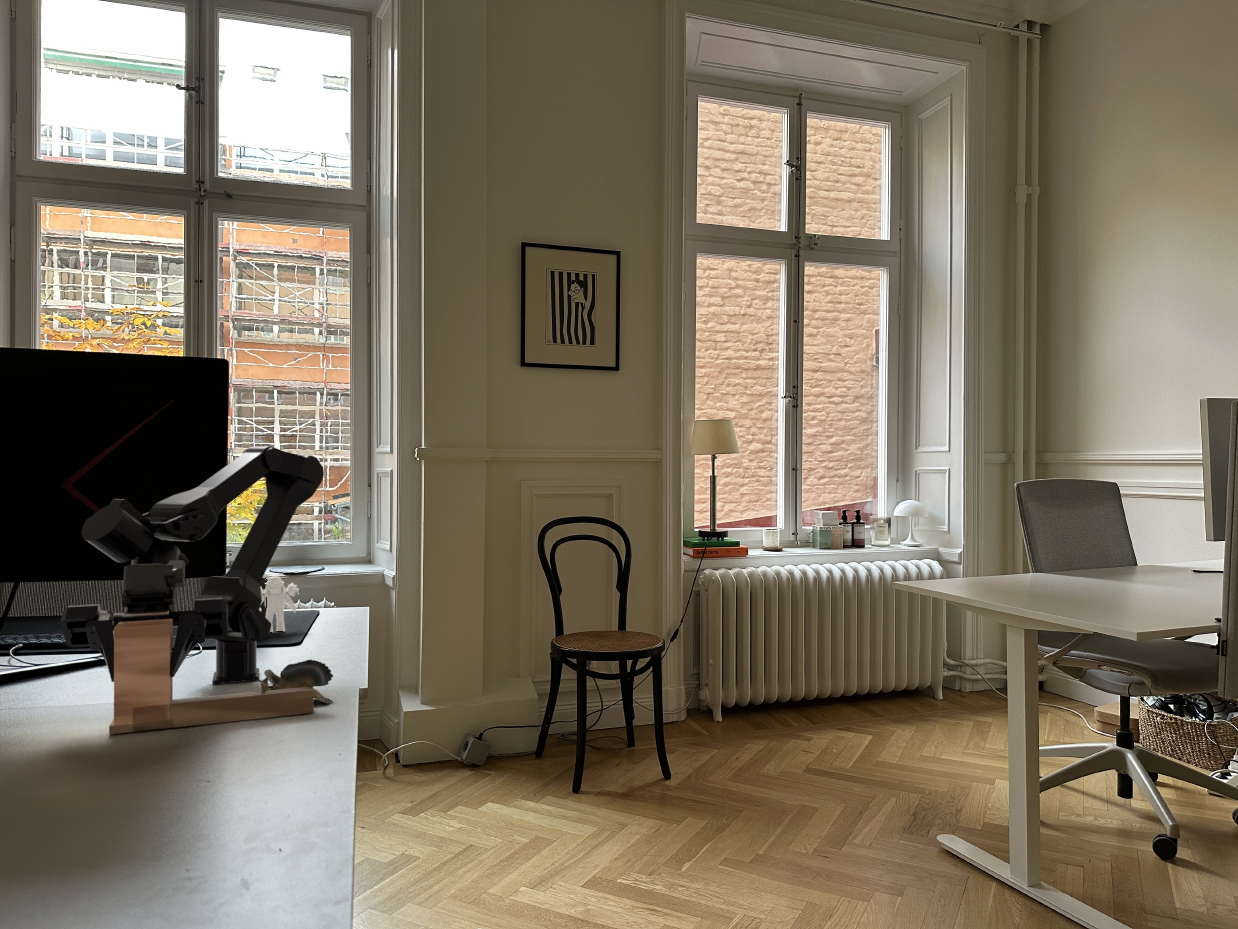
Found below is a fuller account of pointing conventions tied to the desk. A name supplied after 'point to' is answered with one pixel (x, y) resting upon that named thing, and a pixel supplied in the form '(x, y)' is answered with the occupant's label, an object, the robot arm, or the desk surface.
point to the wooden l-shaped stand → (150, 687)
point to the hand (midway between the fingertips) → (142, 677)
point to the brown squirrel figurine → (300, 677)
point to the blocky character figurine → (277, 600)
